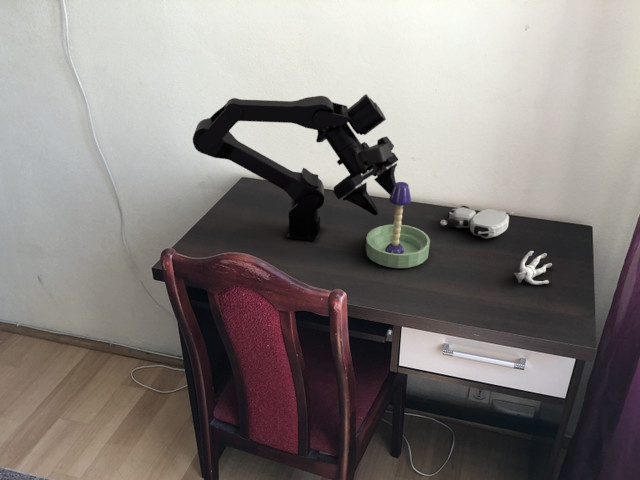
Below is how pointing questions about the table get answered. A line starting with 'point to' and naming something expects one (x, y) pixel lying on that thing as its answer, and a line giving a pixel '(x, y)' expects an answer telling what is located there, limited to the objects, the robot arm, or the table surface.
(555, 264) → the table surface
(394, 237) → the toy lamp
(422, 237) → the bowl
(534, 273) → the white figurine
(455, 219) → the robot toy
